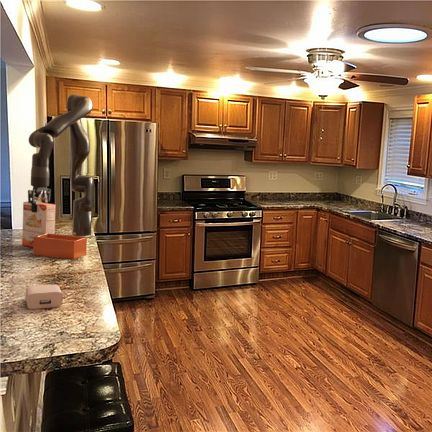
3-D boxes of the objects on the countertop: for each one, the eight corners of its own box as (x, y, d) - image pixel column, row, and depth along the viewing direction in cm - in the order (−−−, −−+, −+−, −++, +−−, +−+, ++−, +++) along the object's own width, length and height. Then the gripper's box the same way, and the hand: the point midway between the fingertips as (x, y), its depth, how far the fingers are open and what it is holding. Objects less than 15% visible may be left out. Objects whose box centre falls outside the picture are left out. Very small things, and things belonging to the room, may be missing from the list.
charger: (55, 292, 154) (61, 306, 142) (24, 295, 149) (27, 309, 137) (56, 279, 154) (62, 291, 141) (24, 280, 148) (28, 293, 136)
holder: (47, 250, 213) (48, 233, 212) (86, 254, 212) (87, 237, 211) (33, 254, 203) (33, 236, 202) (73, 259, 201) (74, 241, 200)
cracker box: (21, 245, 218) (22, 201, 215) (31, 243, 223) (33, 200, 221) (44, 249, 213) (45, 204, 211) (54, 247, 219) (56, 204, 217)
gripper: (38, 177, 207) (37, 213, 209) (56, 176, 221) (55, 210, 223) (22, 175, 208) (21, 212, 210) (41, 175, 222) (40, 209, 224)
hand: (39, 211), depth 216 cm, fingers closed on cracker box, 6 cm apart
